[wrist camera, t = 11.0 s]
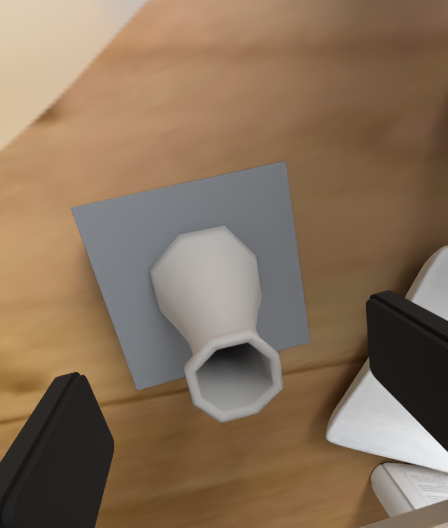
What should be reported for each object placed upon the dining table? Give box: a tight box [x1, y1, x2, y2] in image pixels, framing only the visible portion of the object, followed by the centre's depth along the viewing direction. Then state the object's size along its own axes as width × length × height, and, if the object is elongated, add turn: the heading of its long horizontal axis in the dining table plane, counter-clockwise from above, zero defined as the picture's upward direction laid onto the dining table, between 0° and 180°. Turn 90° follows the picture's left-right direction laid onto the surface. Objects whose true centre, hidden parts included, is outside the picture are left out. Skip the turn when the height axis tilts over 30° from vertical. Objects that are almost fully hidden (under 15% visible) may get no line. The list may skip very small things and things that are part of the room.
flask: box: [149, 226, 284, 423], centre depth 14 cm, size 7×7×10 cm
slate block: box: [71, 161, 310, 390], centre depth 21 cm, size 13×13×5 cm
